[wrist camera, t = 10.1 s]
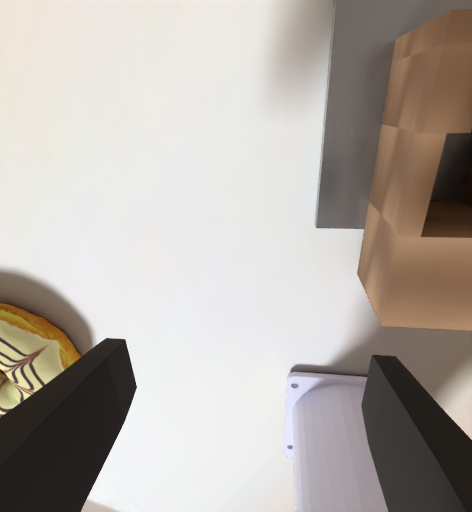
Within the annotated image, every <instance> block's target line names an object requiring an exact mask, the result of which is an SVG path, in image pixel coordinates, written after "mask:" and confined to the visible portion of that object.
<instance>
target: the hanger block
mask: <svg viewBox="0 0 472 512" xmlns="http://www.w3.org/2000/svg"><path fill="white" fill-rule="evenodd" d="M471 130H472V9H462V10H450V11H448V12H447V13H445V14H443V15H441V16H439V17H437V18H435V19H433V20H431V21H429V22H427V23H426V24H424V25H422V26H420V27H418V28H416V29H414V30H412V31H410V32H408V33H406V34H405V35H403V36H401V37H399V38H397V39H395V45H394V52H393V58H392V64H391V70H390V76H389V82H388V88H387V94H386V101H385V107H384V113H383V119H382V125H381V131H380V137H379V143H378V150H377V156H376V162H375V168H374V174H373V180H372V186H371V192H370V199H369V205H368V211H367V217H366V223H365V229H364V235H363V241H362V248H361V254H360V260H359V266H358V272H357V274H358V276H359V279H360V281H361V283H362V285H363V287H364V290H365V292H366V294H367V296H368V298H369V301H370V303H371V305H372V307H373V309H374V312H375V314H376V316H377V318H378V320H379V323H380V325H381V326H391V327H410V328H430V329H449V330H468V331H472V167H471V170H470V173H469V177H468V180H467V183H466V187H465V190H464V193H463V197H462V200H461V202H430V198H431V194H432V190H433V186H434V182H435V178H436V174H437V170H438V166H439V162H440V158H441V155H442V151H443V147H444V143H445V139H446V135H447V133H471Z"/></svg>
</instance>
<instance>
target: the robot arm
mask: <svg viewBox="0 0 472 512" xmlns="http://www.w3.org/2000/svg"><path fill="white" fill-rule="evenodd" d="M293 383H296V384H293ZM136 388H137V386H136V382H135V377H134V373H133V369H132V365H131V361H130V357H129V353H128V349H127V345H126V341H125V339H112V338H106V339H105V340H103V341H102V342H100V343H99V344H98V345H96V346H95V347H94V348H92V349H91V350H90V351H88V352H87V353H86V354H85V355H83V356H82V357H81V358H79V359H78V360H77V361H76V362H74V363H73V364H72V365H70V366H69V367H68V368H66V369H65V370H64V371H63V372H61V373H60V374H59V375H57V376H56V377H55V378H53V379H52V380H51V381H49V382H48V383H47V384H45V385H44V386H43V387H41V388H40V389H39V390H38V391H36V392H35V393H33V394H32V395H31V396H29V397H28V398H26V399H25V400H24V401H22V402H21V403H19V404H18V405H17V406H15V407H14V408H12V409H11V410H9V411H8V412H7V413H5V414H4V415H2V416H1V417H0V512H81V510H82V507H83V505H84V503H85V501H86V499H87V497H88V495H89V493H90V491H91V489H92V487H93V485H94V483H95V481H96V479H97V477H98V475H99V473H100V471H101V469H102V467H103V465H104V463H105V461H106V459H107V457H108V455H109V453H110V451H111V449H112V447H113V444H114V442H115V440H116V438H117V436H118V434H119V432H120V430H121V428H122V426H123V424H124V422H125V419H126V416H127V414H128V411H129V408H130V406H131V403H132V400H133V397H134V394H135V391H136ZM284 456H285V457H287V458H293V465H294V490H295V512H472V440H471V439H470V438H469V437H468V436H467V435H466V433H465V432H464V431H463V430H462V429H461V428H460V427H459V426H458V425H457V424H456V423H455V422H454V421H453V420H452V419H451V418H450V417H449V415H448V414H447V413H446V412H445V411H444V410H443V409H442V408H441V407H440V406H439V405H438V403H437V402H436V401H435V400H434V399H433V398H432V397H431V396H430V395H429V393H428V392H427V391H426V390H425V389H424V388H423V387H422V386H421V384H420V383H419V382H418V381H417V380H416V379H415V378H414V377H413V375H412V374H411V373H410V372H409V371H408V370H407V369H406V367H405V366H404V365H403V364H402V363H401V362H400V361H399V360H398V359H397V357H396V356H382V355H372V358H371V363H370V367H369V372H368V376H367V377H361V376H347V375H333V374H319V373H305V372H291V373H290V374H289V375H288V383H287V399H286V416H285V433H284Z"/></svg>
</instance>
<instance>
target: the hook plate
mask: <svg viewBox="0 0 472 512" xmlns="http://www.w3.org/2000/svg"><path fill="white" fill-rule="evenodd" d="M462 9H472V0H334V10H333V22H332V33H331V45H330V56H329V68H328V79H327V91H326V102H325V114H324V125H323V137H322V149H321V160H320V172H319V183H318V195H317V206H316V218H315V226H316V228H344V229H365V223H366V217H367V211H368V205H369V199H370V192H371V186H372V180H373V174H374V168H375V162H376V156H377V150H378V143H379V137H380V131H381V125H382V119H383V113H384V107H385V101H386V94H387V88H388V82H389V76H390V70H391V64H392V58H393V52H394V45H395V39H397V38H399V37H401V36H403V35H405V34H406V33H408V32H410V31H412V30H414V29H416V28H418V27H420V26H422V25H424V24H426V23H427V22H429V21H431V20H433V19H435V18H437V17H439V16H441V15H443V14H445V13H447V12H448V11H450V10H462ZM471 167H472V130H471V133H447V135H446V139H445V143H444V147H443V151H442V155H441V158H440V162H439V166H438V170H437V174H436V178H435V182H434V186H433V190H432V194H431V198H430V202H461V200H462V197H463V193H464V190H465V187H466V183H467V180H468V177H469V173H470V170H471Z"/></svg>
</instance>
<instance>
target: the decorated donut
mask: <svg viewBox="0 0 472 512" xmlns="http://www.w3.org/2000/svg"><path fill="white" fill-rule="evenodd" d="M79 358H81V356H80V354H79V353H78V352H77V351H76V349H75V347H74V346H73V344H72V342H71V341H70V340H69V339H68V337H67V336H66V334H65V333H64V332H63V331H61V330H60V329H58V328H57V327H55V326H54V325H52V324H50V323H49V322H48V321H47V320H46V319H45V318H42V317H38V316H36V315H33V314H31V313H29V312H27V311H26V310H23V309H20V308H16V307H15V306H12V305H8V304H4V303H0V417H1V416H2V415H4V414H5V413H7V412H8V411H9V410H11V409H12V408H14V407H15V406H17V405H18V404H19V403H21V402H22V401H24V400H25V399H26V398H28V397H29V396H31V395H32V394H33V393H35V392H36V391H38V390H39V389H40V388H41V387H43V386H44V385H45V384H47V383H48V382H49V381H51V380H52V379H53V378H55V377H56V376H57V375H59V374H60V373H61V372H63V371H64V370H65V369H66V368H68V367H69V366H70V365H72V364H73V363H74V362H76V361H77V360H78V359H79Z"/></svg>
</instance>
